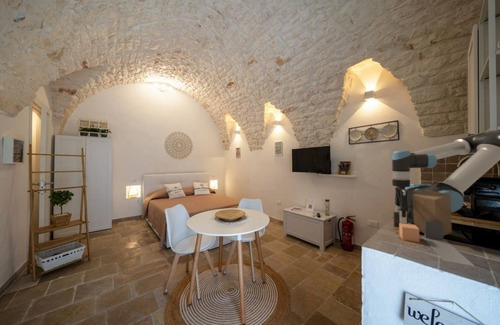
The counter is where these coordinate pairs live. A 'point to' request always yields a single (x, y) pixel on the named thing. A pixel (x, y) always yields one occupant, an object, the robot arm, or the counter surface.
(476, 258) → the counter surface
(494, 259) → the counter surface
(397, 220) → the walnut strip
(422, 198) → the wooden block
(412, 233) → the terracotta cube
